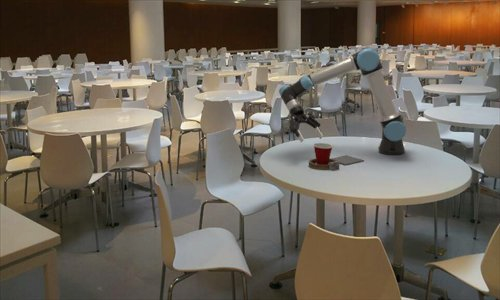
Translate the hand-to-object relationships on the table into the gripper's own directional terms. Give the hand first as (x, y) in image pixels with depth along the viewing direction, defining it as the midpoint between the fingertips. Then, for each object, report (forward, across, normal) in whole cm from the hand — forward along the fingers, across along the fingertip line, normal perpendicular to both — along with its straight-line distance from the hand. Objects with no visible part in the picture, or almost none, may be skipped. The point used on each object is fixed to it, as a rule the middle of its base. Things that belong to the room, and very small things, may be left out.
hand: (312, 139), depth 278 cm
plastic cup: (+16, 0, -4) cm, 16 cm away
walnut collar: (+17, -1, -2) cm, 17 cm away
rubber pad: (+16, -18, -3) cm, 24 cm away
